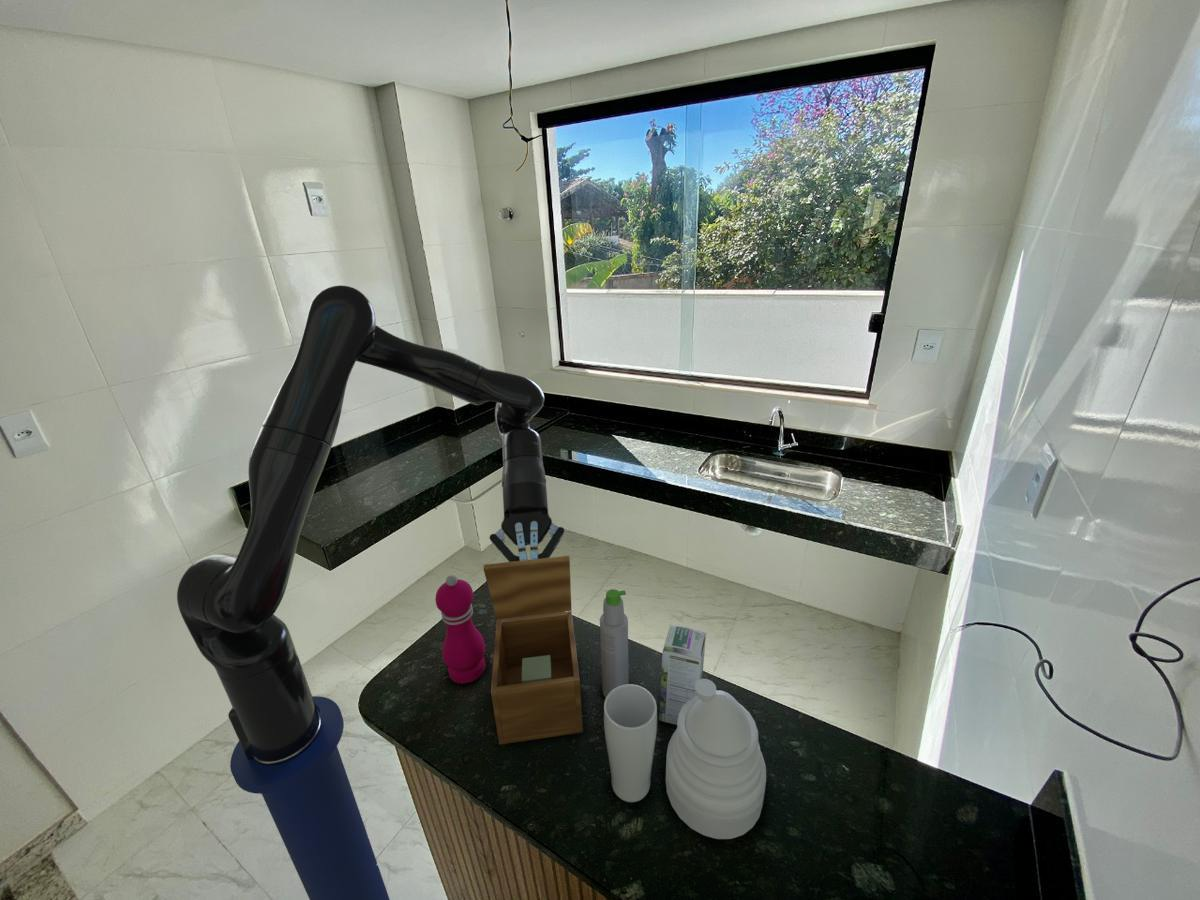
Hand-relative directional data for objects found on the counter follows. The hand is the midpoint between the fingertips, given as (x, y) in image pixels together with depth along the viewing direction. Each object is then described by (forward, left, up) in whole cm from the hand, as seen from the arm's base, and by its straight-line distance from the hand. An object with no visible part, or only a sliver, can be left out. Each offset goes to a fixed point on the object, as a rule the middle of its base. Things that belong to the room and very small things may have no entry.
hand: (530, 589), depth 78 cm
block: (0, -8, -17) cm, 19 cm away
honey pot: (+23, -23, -18) cm, 37 cm away
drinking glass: (+12, -21, -18) cm, 30 cm away
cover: (0, -1, +1) cm, 2 cm away
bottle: (+12, -6, -18) cm, 23 cm away
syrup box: (+22, -11, -18) cm, 31 cm away
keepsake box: (0, -5, -18) cm, 19 cm away
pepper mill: (-13, +3, -18) cm, 22 cm away
